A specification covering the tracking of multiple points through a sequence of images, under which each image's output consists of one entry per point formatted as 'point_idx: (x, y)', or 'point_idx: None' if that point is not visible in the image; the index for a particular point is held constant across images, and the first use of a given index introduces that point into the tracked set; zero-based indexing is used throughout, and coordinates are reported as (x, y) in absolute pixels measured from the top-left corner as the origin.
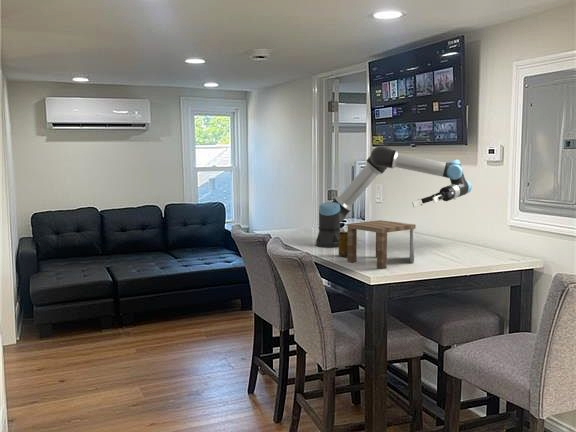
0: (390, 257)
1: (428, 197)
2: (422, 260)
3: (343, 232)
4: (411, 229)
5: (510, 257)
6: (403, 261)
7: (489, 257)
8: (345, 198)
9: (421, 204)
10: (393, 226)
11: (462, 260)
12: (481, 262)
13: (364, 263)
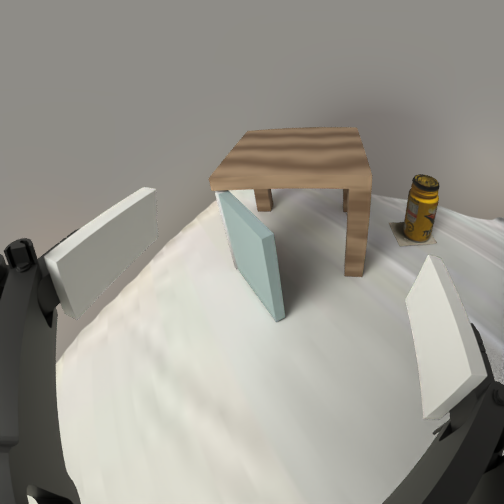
0: (330, 284)
1: (420, 502)
2: (232, 307)
3: (426, 179)
4: (226, 192)
5: None
6: None
7: (74, 453)
8: None
9: (422, 395)
10: (244, 145)
11: (132, 371)
12: (88, 371)
13: (321, 213)
